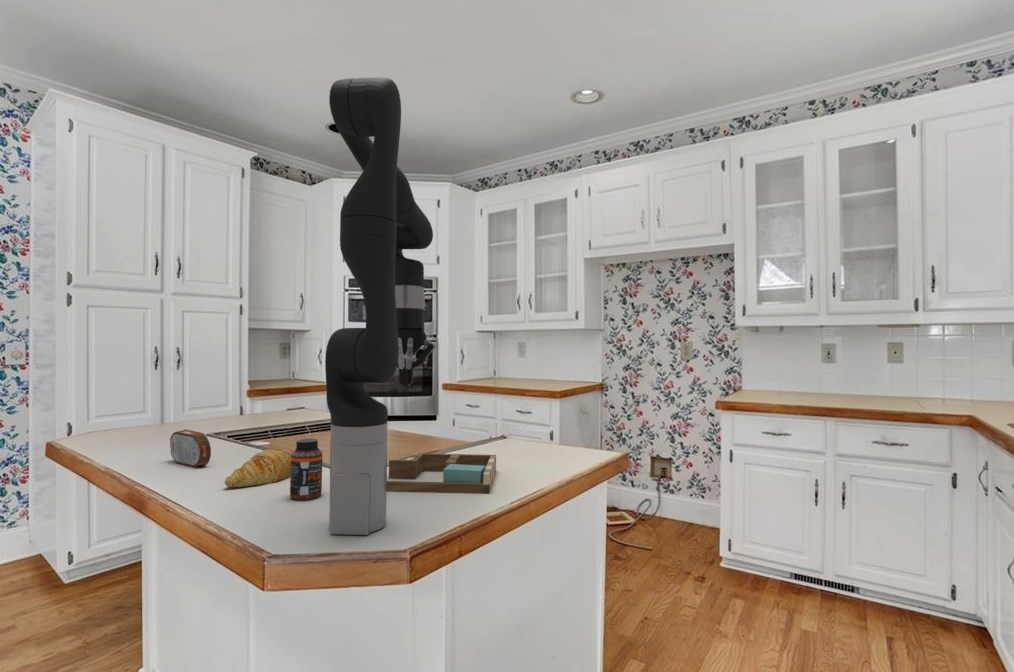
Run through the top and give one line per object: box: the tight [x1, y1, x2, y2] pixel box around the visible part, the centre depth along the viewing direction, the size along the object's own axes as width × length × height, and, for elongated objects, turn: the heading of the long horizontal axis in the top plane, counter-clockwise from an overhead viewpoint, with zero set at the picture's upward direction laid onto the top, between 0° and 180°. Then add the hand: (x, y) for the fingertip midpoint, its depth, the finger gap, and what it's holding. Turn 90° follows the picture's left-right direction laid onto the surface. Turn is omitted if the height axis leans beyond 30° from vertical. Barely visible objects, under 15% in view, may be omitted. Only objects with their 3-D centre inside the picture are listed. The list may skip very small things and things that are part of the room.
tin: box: [169, 429, 212, 468], centre depth 133 cm, size 15×3×8 cm, turn 58°
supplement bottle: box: [289, 438, 323, 501], centre depth 106 cm, size 6×6×11 cm
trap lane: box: [387, 453, 497, 494], centre depth 119 cm, size 19×24×4 cm
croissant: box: [224, 448, 291, 488], centre depth 120 cm, size 21×10×8 cm, turn 159°
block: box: [442, 464, 486, 483], centre depth 114 cm, size 5×8×4 cm, turn 80°
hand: (406, 386), depth 117 cm, fingers closed
